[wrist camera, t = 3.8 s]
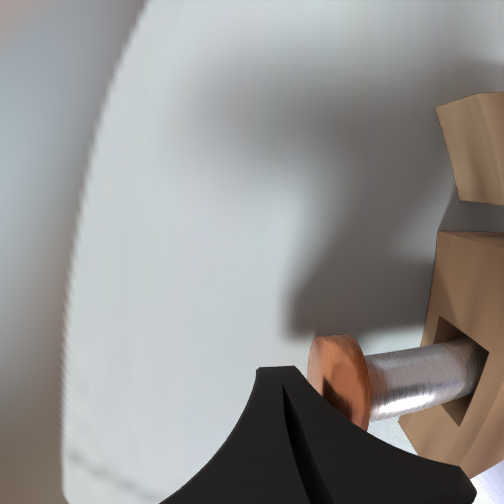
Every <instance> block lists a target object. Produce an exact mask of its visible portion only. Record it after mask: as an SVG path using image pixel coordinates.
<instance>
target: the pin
mask: <svg viewBox="0 0 504 504" xmlns="http://www.w3.org/2000/svg"><path fill="white" fill-rule="evenodd" d="M488 355H489V351H487V350H486V349H485V348H484V347H482V346H481V345H480V344H478V343H477V342H476V341H474V340H473V339H472V338H470V337H465V338H460V339H456V340H452V341H447V342H442V343H438V344H433V345H428V346H422V347H417V348H411V349H406V350H400V351H393V352H387V353H380V354H373V355H366V356H363V353H362V350H361V348H360V346H359V345H358V343H357V341H356V340H355V339H354V338H353V337H352V336H351V335H334V336H322V337H316V338H315V339H314V340H313V342H312V345H311V348H310V353H309V359H308V372H307V381H308V382H309V383H310V384H311V385H312V386H313V387H314V388H315V389H316V390H317V392H318V393H319V394H320V395H321V396H322V397H324V398H325V399H326V400H327V401H328V402H329V403H330V404H331V405H332V406H333V407H334V408H335V409H336V410H338V411H339V412H340V413H341V414H342V415H344V416H345V417H346V418H347V419H349V420H350V421H351V422H353V423H354V424H356V425H357V426H359V427H360V428H362V429H363V430H365V431H366V432H367V429H368V425H369V422H373V421H378V420H383V419H387V418H392V417H396V416H400V415H404V414H408V413H412V412H416V411H419V410H423V409H426V408H430V407H433V406H436V405H440V404H443V403H446V402H449V401H452V400H455V399H458V398H461V397H463V396H466V395H469V394H472V393H474V392H475V391H476V388H477V386H478V383H479V381H480V378H481V375H482V373H483V370H484V367H485V364H486V361H487V358H488Z"/></svg>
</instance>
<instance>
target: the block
mask: <svg viewBox="0 0 504 504" xmlns="http://www.w3.org/2000/svg"><path fill="white" fill-rule="evenodd" d="M435 110H436V113H437V116H438V119H439V122H440V125H441V128H442V131H443V135H444V138H445V141H446V145H447V149H448V152H449V156H450V160H451V164H452V168H453V172H454V177H455V181H456V186H457V191H458V196H459V200H463V201H471V202H480V203H487V204H495V205H502V206H504V92H493V93H478V94H474V95H471V96H468V97H465V98H462V99H459V100H456V101H453V102H450V103H447V104H444V105H441V106H439V107H436V108H435Z"/></svg>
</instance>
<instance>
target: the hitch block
mask: <svg viewBox="0 0 504 504" xmlns="http://www.w3.org/2000/svg"><path fill="white" fill-rule="evenodd" d="M465 337H470V338H472V339H473V340H474V341H476V342H477V343H478V344H480V345H481V346H482V347H484V348H485V349H486V350H487V351H489V355H488V358H487V361H486V364H485V367H484V370H483V373H482V375H481V378H480V381H479V383H478V386H477V388H476V391H475V392H474V393H472V394H469V395H466V396H463V397H461V398H458V399H455V400H452V401H449V402H446V403H443V404H440V405H436V406H433V407H430V408H426V409H423V410H419V411H416V412H412V413H408V414H404V415H400V418H399V421H398V423H399V424H400V426H401V428H402V429H403V431H404V433H405V434H406V436H407V438H408V439H409V441H410V442H411V444H412V446H413V447H414V449H415V451H416V452H417V454H418V456H420V457H423V458H426V459H430V460H434V461H438V462H442V463H447V464H451V465H456V466H460V467H461V469H462V470H463V471H464V472H465V474H466V475H467V476H468V478H469V479H471V478H473V477H475V476H477V475H479V474H481V473H482V472H484V471H486V470H488V469H489V468H491V467H493V466H495V465H496V464H498V463H500V462H501V461H503V460H504V232H466V231H438V234H437V246H436V257H435V266H434V274H433V281H432V288H431V295H430V301H429V307H428V312H427V318H426V323H425V328H424V332H423V337H422V342H421V346H420V347H422V346H428V345H433V344H438V343H442V342H447V341H452V340H456V339H460V338H465Z"/></svg>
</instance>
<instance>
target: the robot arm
mask: <svg viewBox="0 0 504 504" xmlns="http://www.w3.org/2000/svg"><path fill="white" fill-rule="evenodd" d="M476 477H477V479H478V480H479V482H480V483H481V485H482V486H483V488H484V489H485V490H486V492H487V493H488V495H489V496H490V498H491V499H492V501H493V502H494V504H504V460H503V461H501V462H500V463H498V464H496V465H495V466H493V467H491V468H489V469H488V470H486V471H484V472H482V473H481V474H479V475H477V476H476ZM476 494H477V491H476V489H475V487H474V486H473V484H472V483H471V481H470V479H469V478H468V476H467V475H466V474H465V472H464V471H463V470H462V469H461V467H460V466H456V465H451V464H447V463H442V462H438V461H434V460H430V459H426V458H423V457H420V456H417V455H414V454H412V453H409V452H406V451H404V450H401V449H399V448H397V447H394V446H392V445H390V444H388V443H386V442H384V441H382V440H380V439H378V438H376V437H375V436H373V435H371V434H369V433H368V432H366V431H365V430H363V429H362V428H360V427H359V426H357V425H356V424H354V423H353V422H351V421H350V420H349V419H347V418H346V417H345V416H344V415H342V414H341V413H340V412H339V411H338V410H336V409H335V408H334V407H333V406H332V405H331V404H330V403H329V402H328V401H327V400H326V399H325V398H324V397H322V396H321V395H320V394H319V393H318V392H317V390H316V389H315V388H314V387H313V386H312V385H311V384H310V383H309V382H308V381H307V379H306V378H305V377H304V376H303V375H302V373H301V372H300V371H299V370H298V369H297V368H296V367H295V366H279V367H259V368H258V369H257V370H256V379H255V383H254V386H253V390H252V392H251V395H250V397H249V400H248V402H247V405H246V407H245V409H244V411H243V413H242V415H241V417H240V418H239V420H238V422H237V424H236V426H235V427H234V429H233V430H232V432H231V434H230V435H229V436H228V438H227V439H226V441H225V442H224V444H223V445H222V446H221V447H220V449H219V450H218V451H217V452H216V454H215V455H214V456H213V457H212V458H211V460H210V461H209V462H208V463H207V464H206V465H205V466H204V467H203V468H202V469H201V470H200V471H199V472H198V473H197V474H196V475H195V476H194V477H193V478H191V479H190V480H189V481H188V482H187V483H186V484H185V485H184V486H182V487H181V488H180V489H179V490H177V491H176V492H175V493H173V494H172V495H171V496H169V497H168V498H166V499H165V500H164V501H162V502H161V503H159V504H472V503H473V502H474V500H475V497H476Z"/></svg>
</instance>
